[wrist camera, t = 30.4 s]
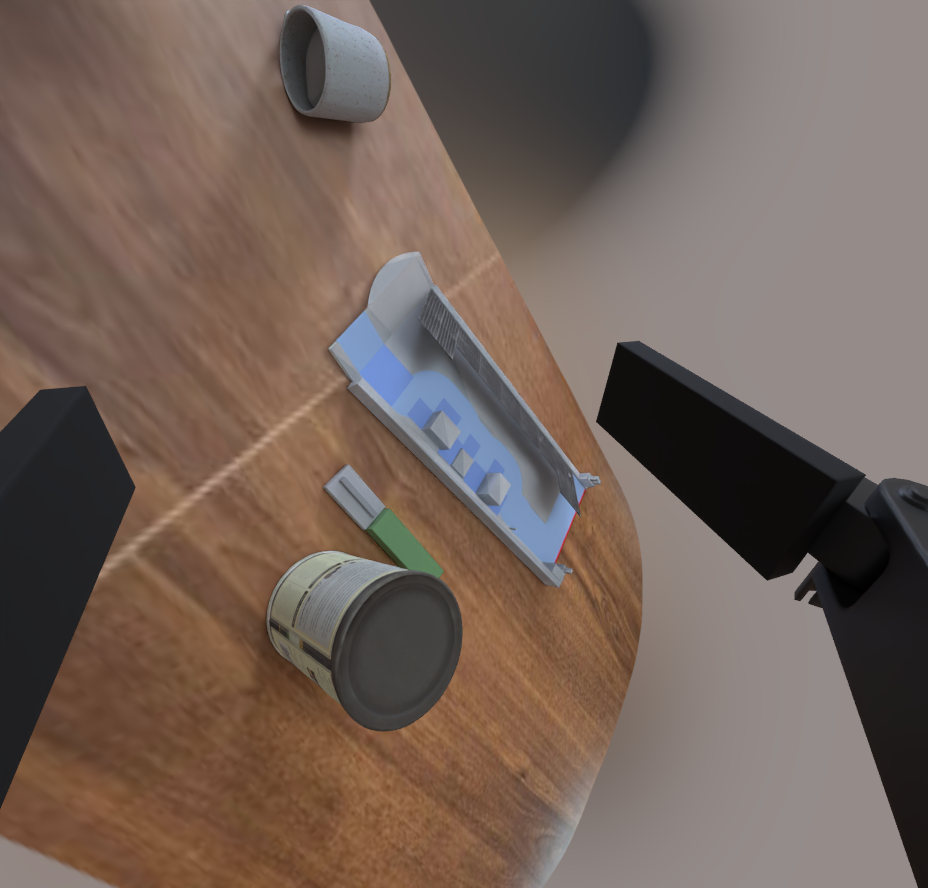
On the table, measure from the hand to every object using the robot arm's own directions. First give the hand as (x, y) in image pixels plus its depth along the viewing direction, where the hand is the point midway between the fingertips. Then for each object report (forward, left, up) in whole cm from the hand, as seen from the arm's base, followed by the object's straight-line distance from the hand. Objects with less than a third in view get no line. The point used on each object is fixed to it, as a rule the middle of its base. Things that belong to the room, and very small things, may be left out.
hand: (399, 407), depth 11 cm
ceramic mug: (+22, +33, -31) cm, 50 cm away
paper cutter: (+31, -7, -31) cm, 44 cm away
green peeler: (+14, -13, -30) cm, 36 cm away
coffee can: (+6, -16, -31) cm, 35 cm away
